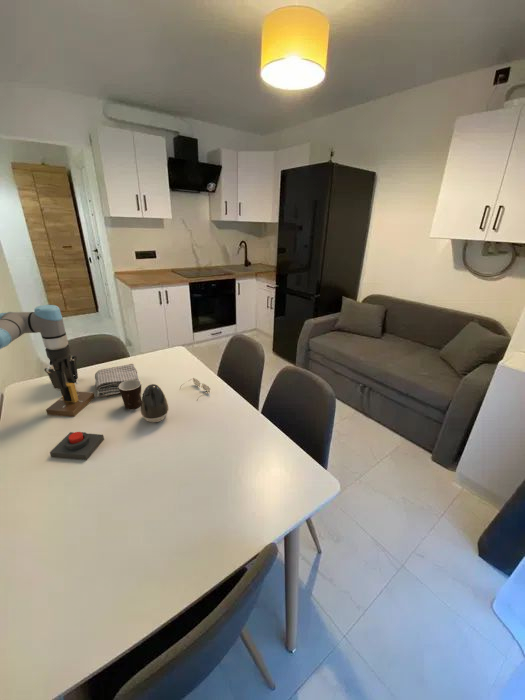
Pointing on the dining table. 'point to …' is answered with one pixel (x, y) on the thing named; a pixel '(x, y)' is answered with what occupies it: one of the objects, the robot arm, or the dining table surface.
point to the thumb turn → (72, 392)
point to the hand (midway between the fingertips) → (70, 398)
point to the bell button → (76, 437)
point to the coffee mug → (131, 393)
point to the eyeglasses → (199, 385)
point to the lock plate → (70, 405)
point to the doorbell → (77, 447)
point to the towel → (113, 379)
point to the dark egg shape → (154, 404)
